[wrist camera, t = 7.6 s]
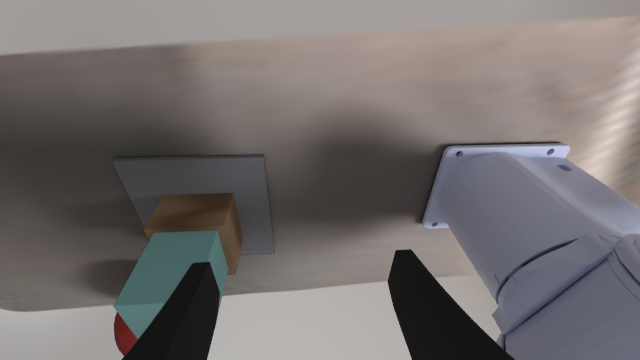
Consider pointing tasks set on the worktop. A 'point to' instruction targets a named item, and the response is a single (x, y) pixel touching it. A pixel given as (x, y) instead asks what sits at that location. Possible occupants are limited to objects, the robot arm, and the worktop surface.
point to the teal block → (167, 273)
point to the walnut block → (201, 220)
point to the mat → (204, 189)
